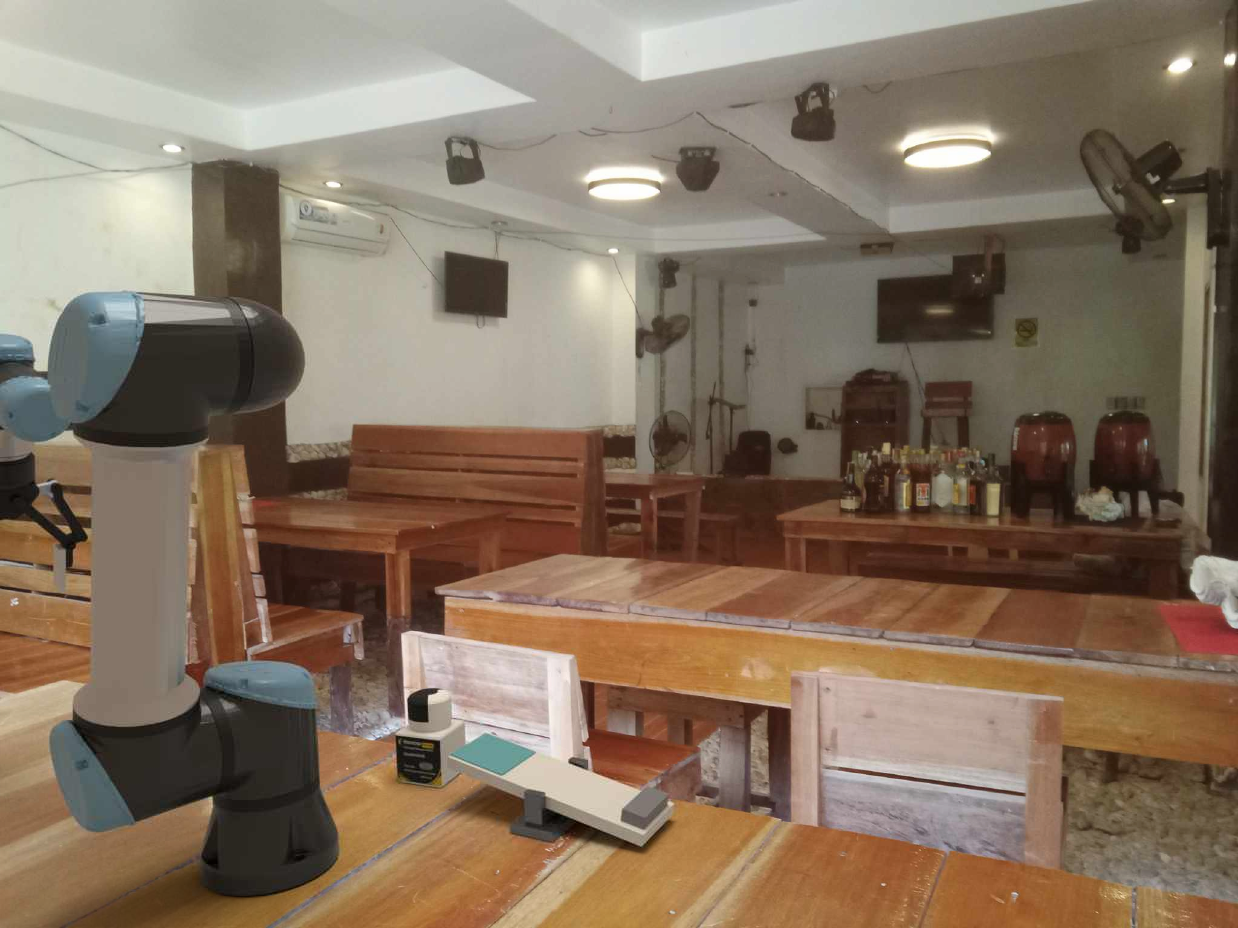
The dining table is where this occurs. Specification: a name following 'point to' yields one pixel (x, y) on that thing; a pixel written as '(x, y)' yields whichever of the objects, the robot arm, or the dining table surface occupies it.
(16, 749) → the dining table surface
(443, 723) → the medicine bottle
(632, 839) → the beam
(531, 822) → the fulcrum
